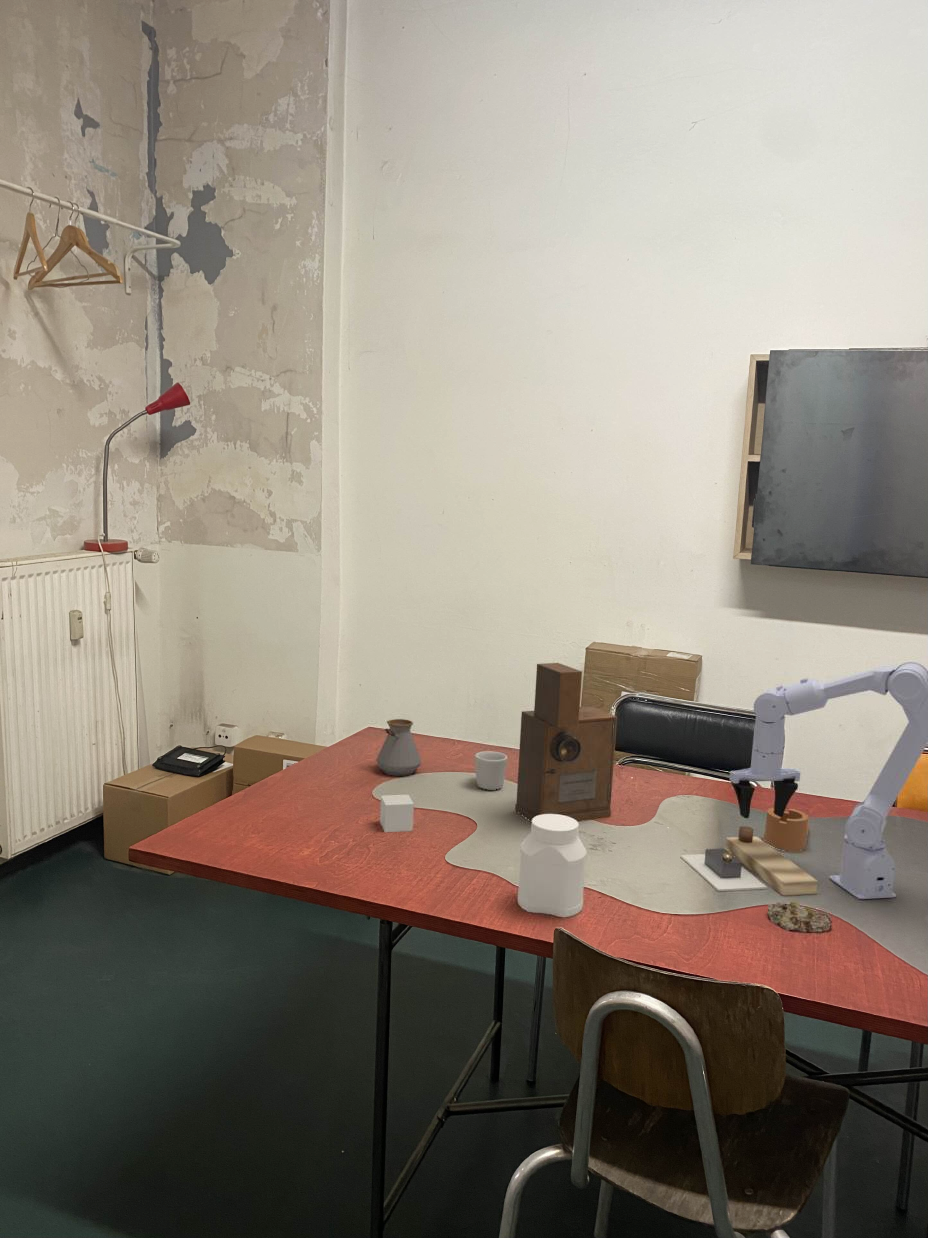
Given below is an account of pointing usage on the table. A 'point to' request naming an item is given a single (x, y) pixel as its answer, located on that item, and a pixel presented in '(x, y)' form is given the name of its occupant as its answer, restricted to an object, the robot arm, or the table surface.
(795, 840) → the bracket
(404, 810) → the white cube
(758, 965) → the table surface
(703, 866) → the mat
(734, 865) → the lever cap
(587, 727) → the vintage camera
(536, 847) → the jar
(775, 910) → the mineral rock
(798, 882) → the body
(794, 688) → the robot arm
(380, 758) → the coffee pot
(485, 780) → the cup
